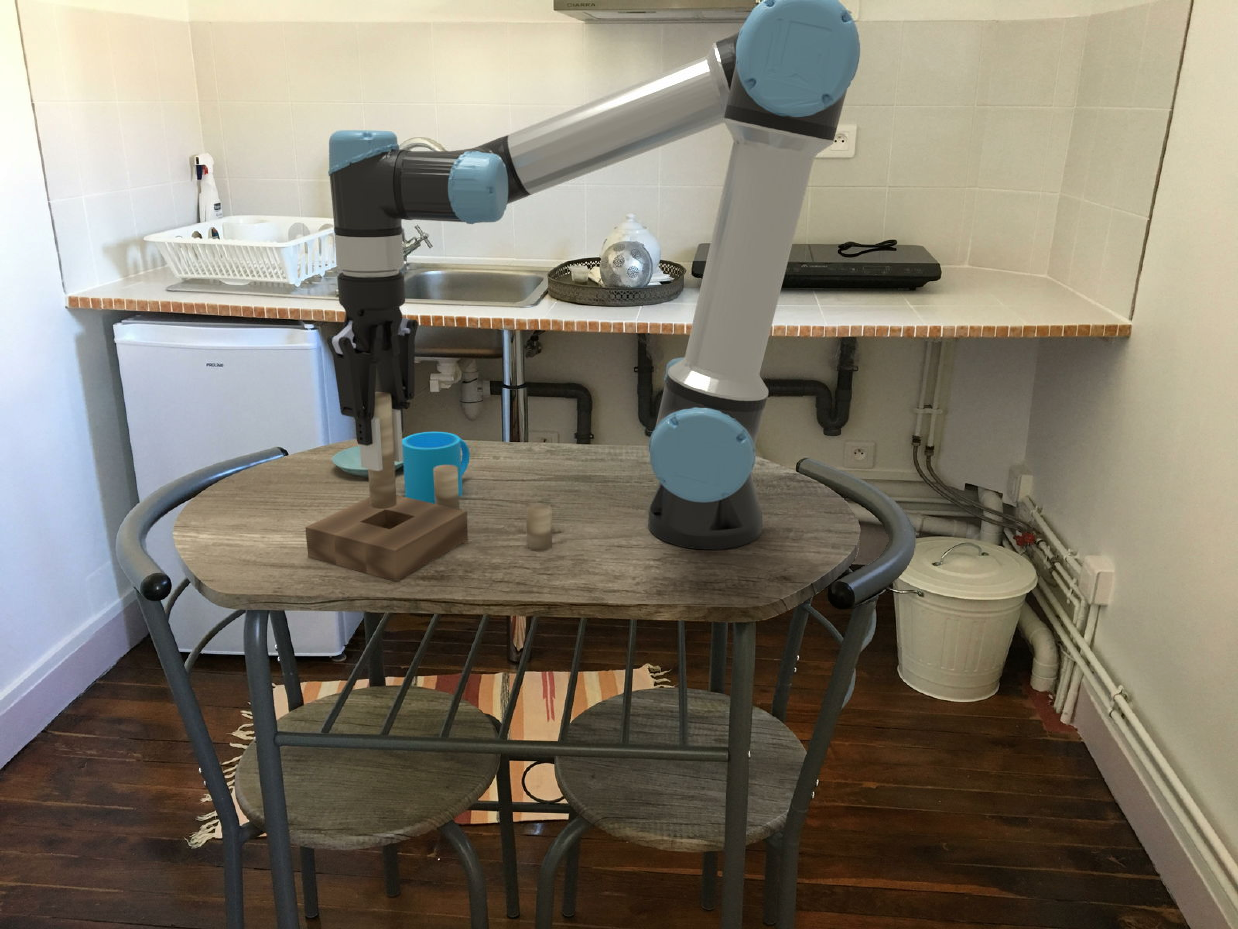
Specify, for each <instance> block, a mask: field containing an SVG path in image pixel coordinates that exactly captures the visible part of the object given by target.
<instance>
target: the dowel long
mask: <svg viewBox="0 0 1238 929" xmlns="http://www.w3.org/2000/svg"><path fill="white" fill-rule="evenodd" d="M374 417H377V418H380V435H381V451H382V467H383V469H382V470H380V471H375V470H371V469H368V475H369V477H368V486H369V497H370V505H371V507H373V508H378V509H385V508H391V507H393V506H395V505H396V504H397V501H396V495H397V484H396V483H397V482H396V470H395V462H394V442H393V423H392V403H391V394H390V393H386V392H382V391H375V408H374Z"/></svg>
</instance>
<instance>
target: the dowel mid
mask: <svg viewBox="0 0 1238 929" xmlns="http://www.w3.org/2000/svg"><path fill="white" fill-rule="evenodd" d="M433 472H434V490H435V504H438V505H442V506H446V507H451V508H455V509H459V510H460V497H459V489H458V468H457V467H456V466H454V465H439V466H436V467H435V468H434V469H433Z"/></svg>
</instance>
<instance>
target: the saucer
mask: <svg viewBox="0 0 1238 929" xmlns="http://www.w3.org/2000/svg"><path fill="white" fill-rule="evenodd" d="M331 462H332V463H333V464H334V465H335V466H336V467H338V468H339V469H340V470H342V471H344V472H345V473H348V474H351V475H353V476H358V477H367V478H369V475H368V469H367V468H362V467H361V457H360V445H357V446H352V447H349V448H345V449H342V450H340V451H338V452H336V453H335V454H334V455H333V456H332V457H331ZM394 462H395V471H396V470H398V469H399V468H401V467H402V466H403V461H401V462H396V461H394Z"/></svg>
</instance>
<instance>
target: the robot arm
mask: <svg viewBox="0 0 1238 929" xmlns="http://www.w3.org/2000/svg"><path fill="white" fill-rule="evenodd" d="M860 57H861V42H860V35H859V32H858V27H857V26H856V23H855V22H854V18H853V17H852V15H851V13H850V12H849V11H848V9H847V8H846V7H845V6H844V5H843V4H842V3H841V2H840V0H761V1H760V2H759V3H758V4H757V5H756V6H755V7H754V8H753V9H752V10H751V12H750V14H748V16H747V17H746V18H745V20H744V23H743V25H742V27H741V28H740V30H739V31H738V32H736V33H734V34H732V35H731V36H729V37H726V38H723V39H721V40H718V41H716V42H714V43H712V46H711V48H709V52H708V53H707V55H706V56H703V57H700V58H698V59H695V60H693V61H691V62H688V63H685V64H683V65H680V66H678V67H675V68H673V69H671V70H668V71H665V72H663V73H660V74H659V75H656V76H653V77H651V78H650V77H649V78H648V79H645V80H643V81H640V82H638V83H636V84H635V83H634V84H632V85H630V86H628V87H625V88H623V89H620V90H618V91H615V92H612V93H610V94H607V95H605V96H602V97H600V98H597V99H595V100H593V101H590V102H587V103H585V104H582V105H580V106H577V107H574V108H572V109H569V110H567V111H565V112H563V113H562V112H561V113H560V114H557V115H554V116H552V117H549V118H548V119H544V120H542V121H539V122H537V123H535V124H532V125H529V126H526V127H524V128H521V129H519V130H516V131H514V132H511V133H509V134H507V135H504V136H501V137H498V138H496V139H493V140H491V141H488V142H485V143H483V144H481V145H478V146H475V147H472V148H465V149H458V150H451V151H449V150H447V151H445V150H440V151H439V150H438V151H437V150H430V151H429V150H427V151H426V150H419V151H418V150H417V151H416V150H415V151H413V150H409V149H408V150H406V149H403V148H402V149H400V144H398V137H397V135H396V134H395V132H393V131H388V130H370V129H366V130H365V129H363V130H362V129H361V130H360V129H359V130H358V129H357V130H356V129H345V130H341V129H340V130H336V131H334V132H333V133H332V134H331V135H330V137H329V140H328V153H329V154H328V158H329V159H328V160H329V161H328V162H329V163H328V168H329V169H328V177H329V182H330V183H329V184H330V185H329V186H330V193H331V194H330V195H331V202H332V203H331V205H332V206H331V207H332V215H333V217H332V218H333V232H334V244H335V258H336V268H337V269H338V270H340V271H342V272H340V273H339V274H338V275H337V277H336V278H337V292H338V302H339V305H340V306H341V307H342V308H343V310H344V312H345V316H344V320H343V329H342V330H341V331H340V332H339V333H337V335H333V334H330V335H328V337H327V339H326V342H327V343H326V344H327V345H328V349H329V351H330V352H331V355H332V360H333V366H334V374H335V380H336V388H337V394H338V402H339V410H340V414H341V415H342V416H345V417H350V418H354V420H355V432H356V433H355V435H356V442H357V445H359V446H360V457H361V467H362V468H367V469H371V470H375V471H380V470H382V469H383V467H382V451H381V435H380V418H377V417H374V408H375V392H376V385H377V384H376V382H377V373H378V378H379V384H380V389H381V392H386V393H390V394H391V403H392V423H393V442H394V461H396V462H401V461H403V446H402V440H403V433H404V414H403V410H409V408H410V407H411V402H408V400H410V401H411V400H413V399H414V397H415V366H416V364H415V357H416V355H415V353H416V352H415V350H416V349H415V348H416V347H415V346H416V345H415V344H416V342H415V339H416V335H417V331H418V327H419V326H418V325H419V323H418V320H416V319H410V318H406V317H404V316H403V313H402V311H401V310H402V309H401V308H400V307H401V306H403V305H404V304H405V302H406V287H405V286H406V285H405V275H404V274H403V273H402V272H401V271H400V270H402V269H403V268H404V267H405V261H404V260H405V258H404V243H403V227H402V220H405V221H413V220H414V221H415V220H417V221H435V222H450V223H451V222H453V223H466V224H467V225H473V224H477V223H478V224H480V223H496V222H499V221H500V220H501V219H502V218H503V216H504V214H505V211H506V210H507V206H508V205H509V204H512V203H514V202H516V201H519V200H522V199H525V198H527V197H529V196H531V195H534V194H538V193H539V192H542V191H544V190H548V189H550V188H553V187H555V186H558V185H561V184H564V183H566V182H569V181H572V180H575V179H577V178H579V177H582V176H585V175H587V174H590V173H593V172H596V171H599V170H602V169H603V168H607V167H609V166H612V165H614V164H617V163H621V162H623V161H625V160H628V159H631V158H633V157H636V156H639V155H642V154H645V153H646V152H649V151H652V150H655V149H658V148H660V147H663V146H665V145H668V144H671V143H674V142H676V141H679V140H682V139H684V138H687V137H690V136H692V135H695V134H698V133H701V132H703V131H705V130H709V129H711V128H714V127H717V126H719V125H722V124H724V125H725V127H727V129H728V131H729V133H730V135H731V138H732V141H733V142H732V146H731V151H730V156H729V159H728V164H727V170H726V173H725V177H724V183H723V186H722V190H721V196H720V200H719V203H718V204H719V205H718V208H717V213H716V217H715V222H714V226H713V231H712V235H711V241H710V244H709V249H708V252H707V256H706V262H705V266H704V271H703V275H702V280H701V285H700V288H699V293H698V297H697V302H696V307H695V311H694V316H693V319H692V323H691V329H690V333H689V338H688V343H687V347H686V350H685V354H684V356H683V357H677V358H673V359H671V360H670V361H669V362H668V363H667V364H666V367H665V369H666V370H665V375H664V377H663V382H664V389H663V393H662V397H661V402H660V405H659V406H660V407H659V411H658V415H657V419H656V423H655V427H654V430H653V431H652V432H651V435H650V438H649V442H648V453H649V461H650V466H651V469H652V471H653V474H654V476H655V477H656V479H657V480H658V484H657V487H656V490H655V492H654V494H653V497H652V500H651V501H650V502H651V503H650V505H649V508H648V509H649V510H648V529H649V531H650V532H651V534H653V536H655V537H656V538H658V539H660V540H662V541H664V542H666V543H669V544H672V545H674V546H679V547H682V548H688V549H689V548H690V549H697V550H726V549H732V548H733V549H734V548H737V547H741V546H745V545H748V544H750V543H753V542H754V541H755V540H757V539H758V538H759V537H760V535H761V534H762V531H763V530H762V528H763V511H762V509H761V505H760V504H761V503H760V502H759V501H760V500H759V497H758V493H757V490H756V486H755V483H754V478H753V474H752V473H753V468H754V467H755V462H756V444H757V439H758V434H759V431H760V427H761V424H762V419H763V416H764V415H763V414H764V412H765V408H766V403H767V400H768V396H769V391H770V390H769V389H768V387H767V386H766V384H765V383H764V381H763V379H762V377H761V376H760V372H761V369H762V365H763V361H764V358H765V353H766V350H767V345H768V341H769V339H770V338H769V337H770V334H771V331H772V330H771V329H772V325H773V322H774V318H775V313H776V311H777V310H776V309H777V306H778V302H779V297H780V295H781V290H782V287H783V286H782V285H783V282H784V278H785V274H786V270H787V266H788V262H789V258H790V255H791V250H792V246H793V243H794V238H795V235H796V232H797V231H796V230H797V229H798V228H797V227H798V223H799V219H800V215H801V211H802V207H803V203H804V199H805V195H806V193H807V192H806V191H807V187H808V183H809V179H810V176H811V172H812V168H813V163H814V160H815V158H816V156H817V155H819V154H820V153H822V151H824V150H826V149H828V148H829V147H831V146H832V145H833V144H834V141H835V137H836V133H837V131H838V130H837V129H838V126H839V121H840V118H841V115H842V110H843V106H844V103H845V99H846V95H847V91H848V88H849V87H850V86H851V84H852V81H853V80H854V78H855V76H856V73H857V71H858V68H859V62H860Z"/></svg>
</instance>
